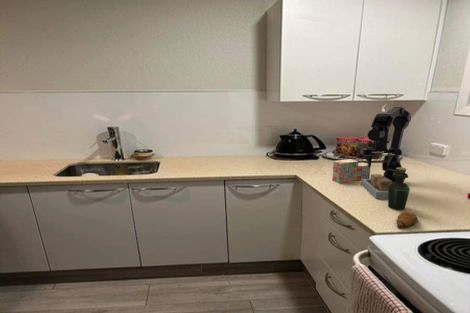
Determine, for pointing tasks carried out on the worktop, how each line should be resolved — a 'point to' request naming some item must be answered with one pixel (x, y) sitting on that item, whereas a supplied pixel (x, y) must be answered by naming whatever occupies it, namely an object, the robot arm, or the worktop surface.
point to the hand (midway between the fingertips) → (378, 167)
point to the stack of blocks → (350, 171)
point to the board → (380, 182)
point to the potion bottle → (398, 190)
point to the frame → (374, 190)
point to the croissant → (406, 219)
